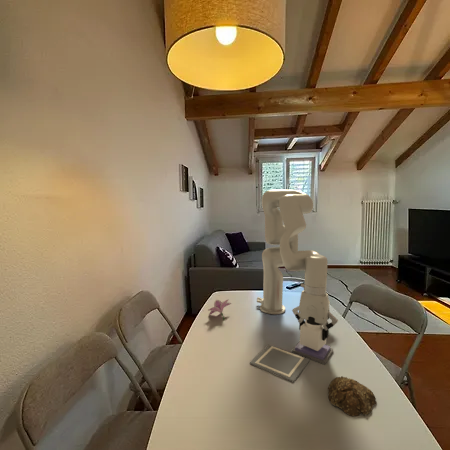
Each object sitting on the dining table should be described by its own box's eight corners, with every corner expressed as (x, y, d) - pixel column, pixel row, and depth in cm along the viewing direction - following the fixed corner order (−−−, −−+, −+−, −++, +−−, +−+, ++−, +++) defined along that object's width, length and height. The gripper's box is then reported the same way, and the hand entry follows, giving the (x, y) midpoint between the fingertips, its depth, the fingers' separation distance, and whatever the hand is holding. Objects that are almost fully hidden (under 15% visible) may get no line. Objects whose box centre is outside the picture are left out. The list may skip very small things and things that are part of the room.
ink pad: (291, 352, 103) (292, 347, 103) (301, 341, 111) (302, 336, 111) (324, 364, 96) (325, 359, 96) (333, 351, 104) (333, 346, 104)
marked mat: (249, 363, 96) (249, 361, 96) (268, 345, 107) (268, 343, 107) (293, 382, 87) (293, 380, 87) (309, 360, 98) (309, 358, 98)
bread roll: (335, 379, 89) (335, 364, 88) (378, 397, 81) (379, 381, 81) (320, 402, 79) (320, 386, 78) (367, 426, 71) (369, 408, 71)
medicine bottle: (326, 343, 103) (327, 312, 102) (318, 351, 98) (319, 319, 96) (308, 336, 108) (309, 307, 106) (299, 344, 103) (300, 313, 101)
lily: (235, 315, 136) (228, 296, 139) (235, 316, 125) (228, 295, 127) (212, 323, 135) (205, 304, 138) (210, 325, 124) (203, 304, 126)
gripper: (288, 287, 103) (286, 332, 105) (337, 297, 92) (335, 347, 94) (296, 281, 109) (294, 325, 111) (343, 291, 98) (340, 338, 100)
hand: (313, 335), depth 103 cm, fingers closed on medicine bottle, 7 cm apart
